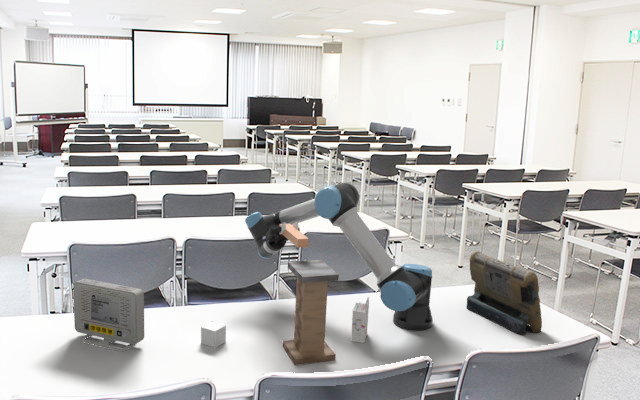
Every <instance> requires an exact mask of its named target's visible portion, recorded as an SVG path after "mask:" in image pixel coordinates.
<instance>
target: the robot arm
mask: <svg viewBox="0 0 640 400" xmlns="http://www.w3.org/2000/svg"><path fill="white" fill-rule="evenodd" d="M359 202H360V193H359V191H358V189H357V187H355V186H354V185H353V184H351V183H348V182H340V183H337V184H333V185H326V186H324V187H322V188H321V189H319V190H318V191H317V193H316V194H315V197H314V198H313V199H309V200H307V201H305V202H302V203H299V204H296V205H293V206H290V207H287V208H285V209H281V210H280V211H277V212H273V213H271V214H267V215H263V214H262V213H261V212H260V211H256V212H253V213H252V214H249V215H248V216H247V217H245V220H244V222H245V224H246V226H247V229H248V231H249V232H250V234H251V236H252V239H253V240H254V241H255V244H256V246H257V254H258V255H259V257H260V258H262V259H263V260H264V259H265V260H269V259H271V258H273V257H275V256H276V254H277V253H279V252H280V250H282V249H283V248H284V247H285V246H286V243H287V241H289V240H288V239H287V238H286V237H285V236H283V235H282V233H283V232H284V231H285V230H286V224H291V225H292V226H293V227H295V228H296V229H297V230H298V231H300V232H301V230H300V227H299V224H300V223H303V222H305V221H309V220H311V219H316V218H318V217H321V218H323V219H327V220H328V221H329V222H330V223H331V224H332V226H333V227H337V228H339V229H340V230H341V232H342V233H343V234H344V235H345V237H346V238H347V240H348V241H349V242H350V243H351V245H352V246H353V248H354V250H356V252H357V253H358V255H359V256H360V257H361V259H362V260H363V262H365V265H366V266H367V267H368V269H370V272H372V273H373V274H374V276H375V277H376V286H377V287H378V288H379V291H380V296H379V297H380V299H381V302H382V304H383V305H384V306H385V307H386V308H387V309H389V310H391V311H392V312H393V311H394V313H393V317H392V322H393V323H394V324H395V325H396V326H397V327H400V328H403V329H405V330H412V331H425V330H428V329H430V328H431V327H433V321H434V320H433V316H432V311H431V308H430V307H431V306H430V303H431V302H430V301H431V290H432V281H433V270H432V269H431V268H430V267H428V266H426V265H422V264H415V263H405V264H402V265H400V264H399V265H398V264H396V263H395V261H394V260H393V259H392V258H391V256H390V255H389V253H388V252H387V251H386V250H385V248H384V247H383V245H382V244H381V243H380V242H379V240H378V239H377V238H376V236H375V235H374V233H373V232H372V231H371V230H370V228H369V227H368V225H367V224H366V223H365V221H364V220H363V219H362V218H361V216H360V214H358V210H359V207H358V204H359ZM280 224H282V225H281V226H280V227H279V225H280Z"/></svg>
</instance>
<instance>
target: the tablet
mask: <svg viewBox="0 0 640 400" xmlns="http://www.w3.org/2000/svg"><path fill="white" fill-rule="evenodd" d="M469 271H470V279H471V281H473V282H474V291H473V292H474V293H473V294H472V295H468V296H467V298H466V309H468V310H469V311H472V312H473V313H475V314H476V315H479V316H481V317H483V318H485V319H487V320H489V321H491V322H493V323H495V324H497V325H498V326H501V327H503V328H505V329H507V330H509V331H512V332H514V333H516V334H518V335H521V336H525V335H527V331H526V328H527V327H528V325H529V326H530V327H529V328H530V331H532V332H533V333H535V334H539V333H541V332H542V327H543V320H542V319H543V318H542V310H541V299H540V296H539V295H540V294H539V292H540V288H539V287H540V286H539V277H538V275H537V273H535V272H534V271H530V270H527V269H524V268H521V267H519V266H515V265H513V264H512V263H509V262H506V261H502V260H500V259H498V258H494V257H493V256H492V257H491V256H489V255H487V254H485V253H481V252H480V251H477V250H475V251H473V252H472V253H471V254H470V257H469Z"/></svg>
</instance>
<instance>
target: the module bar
mask: <svg viewBox="0 0 640 400" xmlns="http://www.w3.org/2000/svg"><path fill="white" fill-rule="evenodd" d="M281 225H282V224H280V225H279V227H280V226H281ZM282 235H283V236H285V237H286V238H287V239H288V241H289V242H290V243H291V244H293V245H294V246H295V247H296V248H297V249H298V248H299V249H300V248H309V242H310V239H309V237H307V235H305V234H304V233H302V232H301V230H300V231H298V230H297V229H296V228H295V227H293V226H292V225H291V224H286V230H285V231H284V232H283V233H282Z"/></svg>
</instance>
